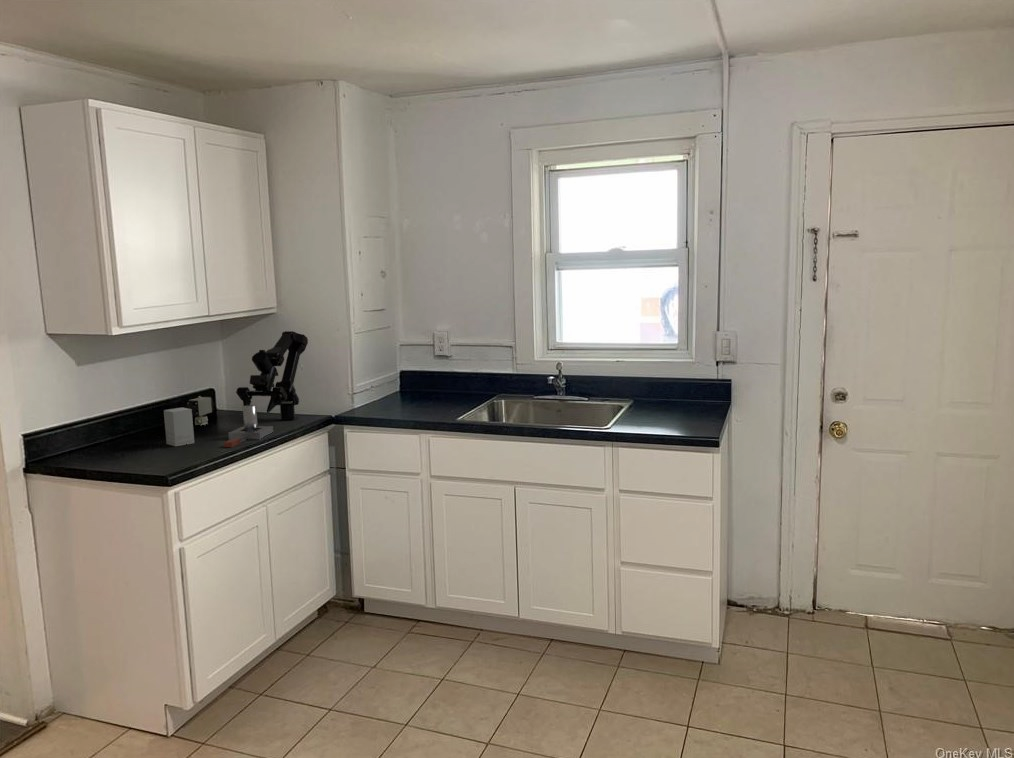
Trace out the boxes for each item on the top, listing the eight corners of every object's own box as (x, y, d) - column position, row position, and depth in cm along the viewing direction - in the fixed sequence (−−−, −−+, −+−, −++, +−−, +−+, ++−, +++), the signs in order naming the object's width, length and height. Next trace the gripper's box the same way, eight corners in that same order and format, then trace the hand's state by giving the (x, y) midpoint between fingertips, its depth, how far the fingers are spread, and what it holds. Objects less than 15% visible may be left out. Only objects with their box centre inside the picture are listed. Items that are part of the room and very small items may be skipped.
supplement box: (195, 443, 285) (192, 408, 283) (175, 446, 279) (172, 412, 278) (185, 440, 290) (183, 406, 288) (165, 444, 284) (162, 409, 283)
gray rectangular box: (243, 432, 301) (242, 426, 301) (273, 432, 300) (272, 426, 300) (211, 447, 277) (211, 440, 277) (244, 447, 275) (243, 440, 275)
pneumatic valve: (216, 422, 324) (213, 393, 322) (196, 428, 313) (194, 398, 311) (205, 422, 325) (202, 393, 324) (185, 427, 314) (182, 398, 313)
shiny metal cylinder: (245, 433, 297) (243, 405, 295) (258, 432, 298) (256, 404, 296) (244, 436, 292) (242, 407, 291) (257, 435, 293) (255, 406, 292)
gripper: (236, 366, 303) (224, 400, 294) (282, 366, 300) (271, 400, 291) (247, 383, 312) (236, 416, 303) (292, 383, 309) (282, 416, 300)
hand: (256, 412), depth 299 cm, fingers open, 9 cm apart
